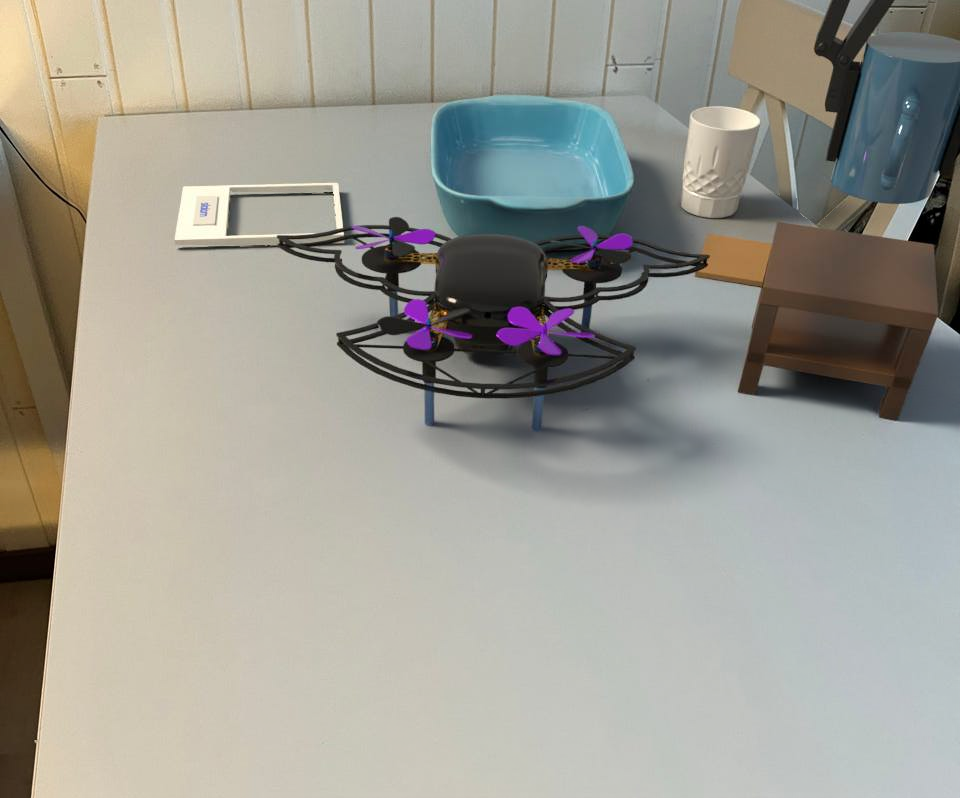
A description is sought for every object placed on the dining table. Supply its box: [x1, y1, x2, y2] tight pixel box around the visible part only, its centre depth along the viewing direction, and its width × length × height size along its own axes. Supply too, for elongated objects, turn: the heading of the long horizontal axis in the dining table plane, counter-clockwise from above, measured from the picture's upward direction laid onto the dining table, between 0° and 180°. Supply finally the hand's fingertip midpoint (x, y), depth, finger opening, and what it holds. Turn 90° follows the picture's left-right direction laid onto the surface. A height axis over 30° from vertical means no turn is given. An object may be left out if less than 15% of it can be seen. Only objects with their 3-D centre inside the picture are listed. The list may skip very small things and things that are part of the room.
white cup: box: [680, 105, 762, 219], centre depth 115 cm, size 8×8×10 cm
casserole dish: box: [430, 94, 635, 251], centre depth 115 cm, size 37×22×7 cm, turn 2°
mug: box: [830, 31, 960, 205], centre depth 76 cm, size 8×11×10 cm
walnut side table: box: [737, 221, 939, 421], centre depth 89 cm, size 14×14×10 cm
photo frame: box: [174, 182, 345, 247], centre depth 112 cm, size 15×1×18 cm
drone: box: [277, 216, 710, 432], centre depth 86 cm, size 40×10×28 cm
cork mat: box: [694, 233, 772, 288], centre depth 108 cm, size 10×10×1 cm
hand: (887, 161), depth 80 cm, fingers closed on mug, 8 cm apart
